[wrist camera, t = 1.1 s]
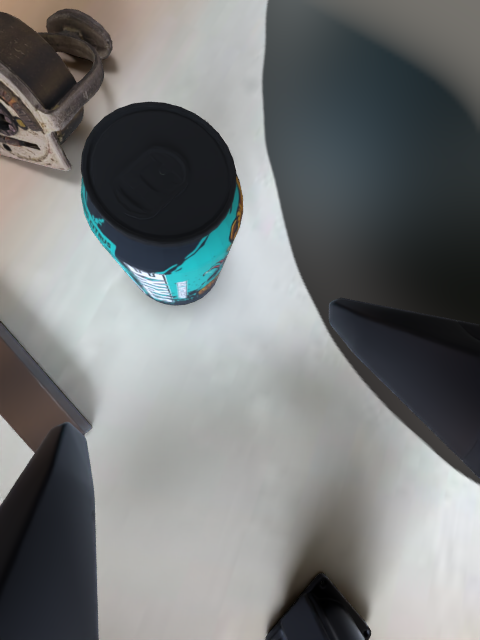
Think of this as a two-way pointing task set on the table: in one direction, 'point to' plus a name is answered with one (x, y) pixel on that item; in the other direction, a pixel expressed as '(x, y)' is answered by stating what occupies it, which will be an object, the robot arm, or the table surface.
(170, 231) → the beverage can
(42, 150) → the mechanical counter
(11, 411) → the brown box
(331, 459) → the table surface
